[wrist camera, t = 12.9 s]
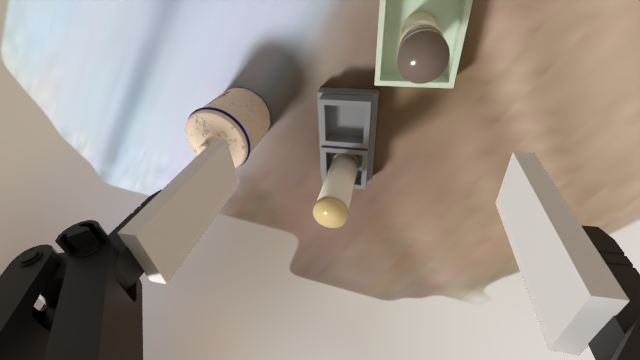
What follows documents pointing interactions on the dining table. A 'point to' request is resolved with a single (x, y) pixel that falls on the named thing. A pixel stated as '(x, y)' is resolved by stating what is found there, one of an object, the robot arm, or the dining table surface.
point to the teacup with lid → (230, 123)
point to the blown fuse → (422, 49)
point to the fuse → (337, 191)
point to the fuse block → (348, 128)
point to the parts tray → (395, 6)
